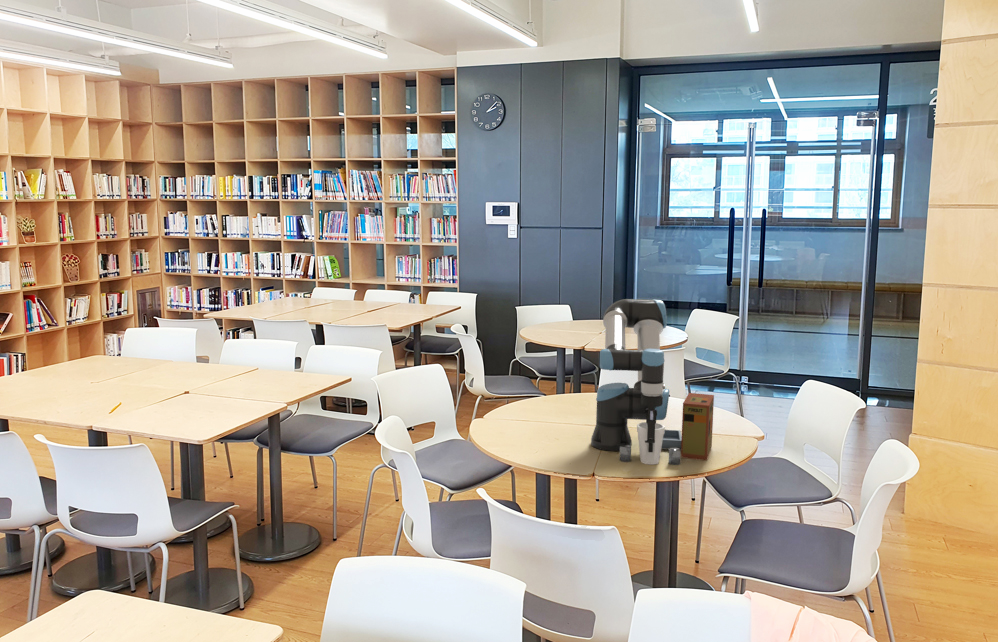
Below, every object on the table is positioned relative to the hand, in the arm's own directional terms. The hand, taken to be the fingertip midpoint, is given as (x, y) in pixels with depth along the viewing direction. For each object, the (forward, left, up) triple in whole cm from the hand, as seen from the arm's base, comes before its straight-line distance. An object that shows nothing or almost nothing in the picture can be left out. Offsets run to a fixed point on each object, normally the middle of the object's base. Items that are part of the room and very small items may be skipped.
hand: (649, 455), depth 264 cm
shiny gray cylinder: (+8, 0, -2) cm, 9 cm away
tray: (+5, +23, -2) cm, 23 cm away
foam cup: (0, 0, -2) cm, 2 cm away
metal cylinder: (-9, 0, -2) cm, 9 cm away
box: (+17, +14, -2) cm, 22 cm away
